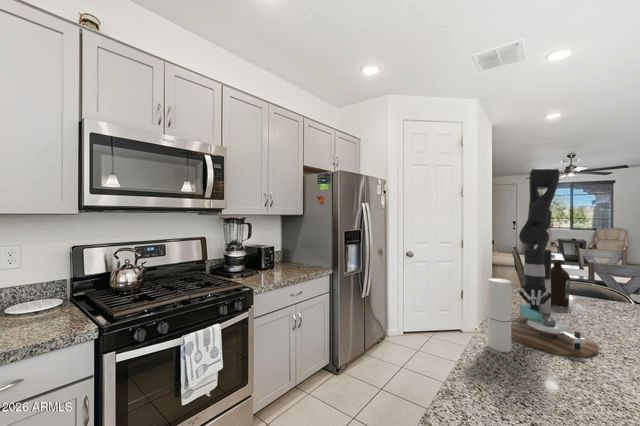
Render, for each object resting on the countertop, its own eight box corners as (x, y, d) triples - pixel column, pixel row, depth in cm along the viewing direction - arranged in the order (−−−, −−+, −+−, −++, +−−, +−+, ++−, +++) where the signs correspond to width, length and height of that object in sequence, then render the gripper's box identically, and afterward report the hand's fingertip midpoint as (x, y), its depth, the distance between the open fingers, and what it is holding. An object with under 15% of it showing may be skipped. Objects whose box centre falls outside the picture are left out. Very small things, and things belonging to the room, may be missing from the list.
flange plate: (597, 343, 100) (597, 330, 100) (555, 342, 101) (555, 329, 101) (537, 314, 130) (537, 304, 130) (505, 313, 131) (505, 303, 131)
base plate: (575, 364, 95) (575, 341, 95) (492, 332, 120) (492, 315, 120) (612, 347, 107) (612, 327, 107) (530, 322, 132) (530, 306, 132)
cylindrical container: (508, 344, 109) (507, 279, 109) (513, 353, 102) (513, 283, 102) (486, 342, 111) (486, 277, 111) (491, 350, 104) (491, 281, 105)
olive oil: (544, 304, 160) (544, 259, 161) (547, 300, 168) (547, 258, 168) (569, 308, 153) (569, 262, 153) (571, 304, 160) (571, 260, 160)
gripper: (519, 274, 125) (520, 314, 125) (556, 276, 121) (556, 317, 121) (514, 271, 132) (514, 308, 132) (548, 273, 128) (548, 311, 128)
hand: (534, 312), depth 126 cm, fingers closed
